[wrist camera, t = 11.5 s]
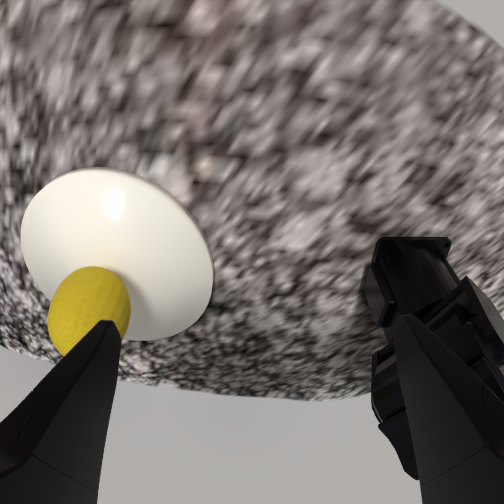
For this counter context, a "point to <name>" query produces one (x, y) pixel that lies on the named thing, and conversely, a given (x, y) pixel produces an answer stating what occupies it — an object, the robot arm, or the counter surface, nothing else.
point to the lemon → (87, 306)
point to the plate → (122, 245)
